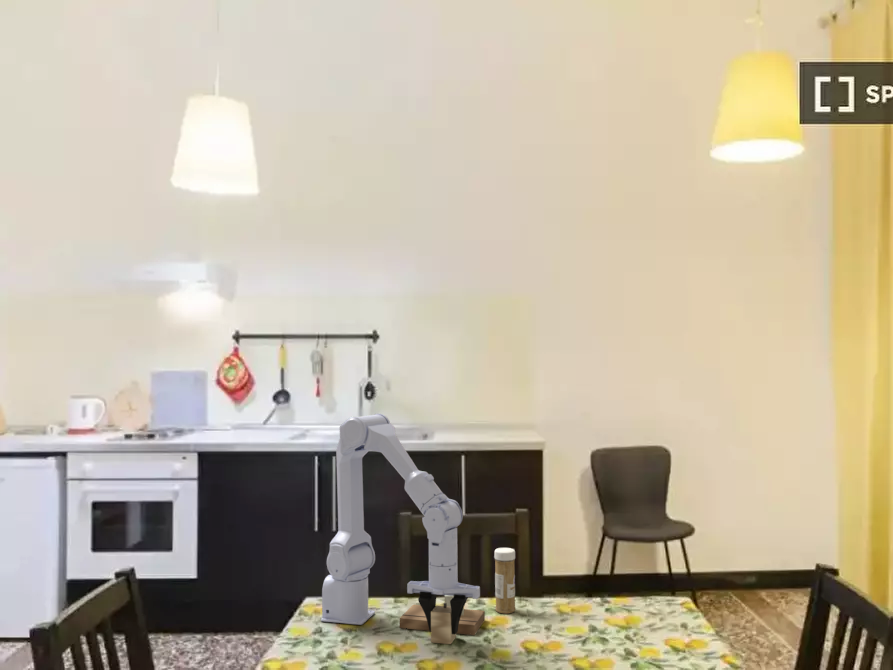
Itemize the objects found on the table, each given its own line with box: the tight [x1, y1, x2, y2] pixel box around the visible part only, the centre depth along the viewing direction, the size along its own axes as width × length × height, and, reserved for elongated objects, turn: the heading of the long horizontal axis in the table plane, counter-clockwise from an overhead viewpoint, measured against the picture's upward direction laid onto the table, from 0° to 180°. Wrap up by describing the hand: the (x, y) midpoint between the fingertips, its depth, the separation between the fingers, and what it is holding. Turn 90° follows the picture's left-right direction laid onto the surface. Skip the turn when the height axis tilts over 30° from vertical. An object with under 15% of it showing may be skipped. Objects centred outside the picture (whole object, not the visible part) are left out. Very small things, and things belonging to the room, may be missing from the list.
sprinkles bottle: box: [493, 547, 516, 615], centre depth 175 cm, size 5×5×14 cm
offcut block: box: [444, 595, 465, 615], centre depth 168 cm, size 4×4×4 cm
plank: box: [399, 604, 486, 636], centre depth 167 cm, size 16×9×2 cm, turn 74°
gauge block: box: [430, 602, 457, 645], centre depth 158 cm, size 4×4×7 cm
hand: (443, 631), depth 158 cm, fingers closed on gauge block, 4 cm apart
